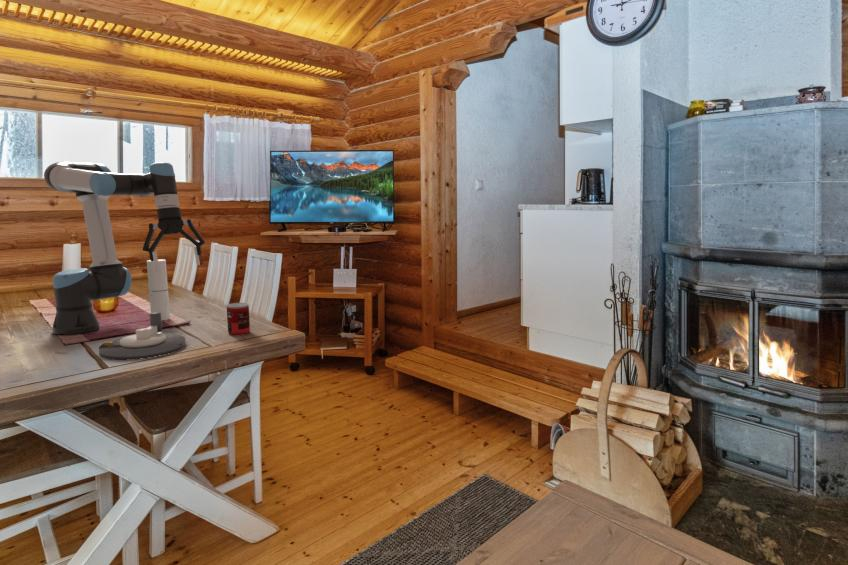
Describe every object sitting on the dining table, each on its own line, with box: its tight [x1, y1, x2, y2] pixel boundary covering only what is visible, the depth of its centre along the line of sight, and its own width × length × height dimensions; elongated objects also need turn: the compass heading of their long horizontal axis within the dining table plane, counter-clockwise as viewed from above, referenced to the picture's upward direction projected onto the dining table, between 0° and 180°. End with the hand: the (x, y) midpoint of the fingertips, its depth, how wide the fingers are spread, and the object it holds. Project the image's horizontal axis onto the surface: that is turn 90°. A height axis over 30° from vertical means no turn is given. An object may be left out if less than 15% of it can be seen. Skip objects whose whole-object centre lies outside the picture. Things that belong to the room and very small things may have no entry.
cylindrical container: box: [146, 258, 171, 321], centre depth 222 cm, size 7×7×25 cm
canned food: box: [226, 302, 251, 336], centre depth 201 cm, size 8×8×11 cm
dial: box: [119, 312, 166, 348], centre depth 182 cm, size 19×14×8 cm
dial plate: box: [98, 331, 187, 361], centre depth 181 cm, size 26×26×2 cm
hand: (178, 267), depth 189 cm, fingers open, 13 cm apart
